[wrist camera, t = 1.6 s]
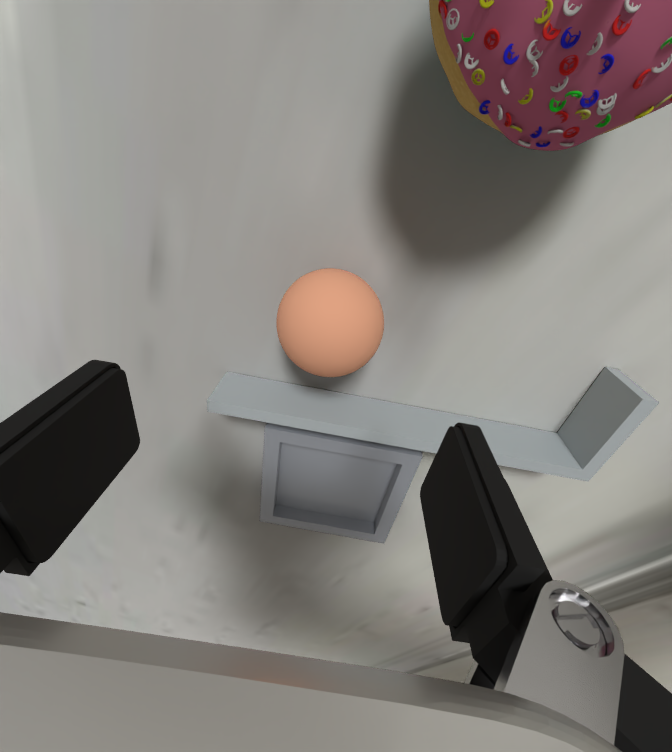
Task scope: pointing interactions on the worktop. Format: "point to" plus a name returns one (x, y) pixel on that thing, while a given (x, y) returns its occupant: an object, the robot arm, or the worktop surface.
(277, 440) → the dish
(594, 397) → the wall
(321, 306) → the ball
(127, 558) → the worktop surface
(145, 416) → the worktop surface
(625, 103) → the cupcake
